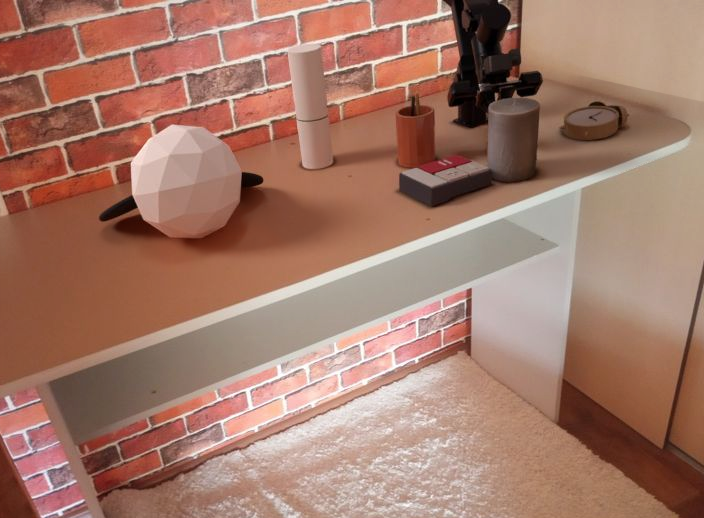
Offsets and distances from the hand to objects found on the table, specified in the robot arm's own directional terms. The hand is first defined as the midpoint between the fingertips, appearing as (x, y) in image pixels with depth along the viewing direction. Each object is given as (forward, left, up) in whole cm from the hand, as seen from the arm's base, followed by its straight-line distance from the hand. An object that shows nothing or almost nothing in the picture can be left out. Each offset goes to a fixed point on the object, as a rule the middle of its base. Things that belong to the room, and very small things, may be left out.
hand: (500, 126), depth 146 cm
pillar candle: (+7, -3, -7) cm, 11 cm away
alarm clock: (+2, +26, -7) cm, 27 cm away
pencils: (-13, -12, -6) cm, 19 cm away
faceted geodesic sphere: (-19, -63, -7) cm, 66 cm away
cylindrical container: (-29, -28, -7) cm, 41 cm away
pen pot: (-13, -12, -7) cm, 19 cm away
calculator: (+3, -17, -7) cm, 19 cm away
